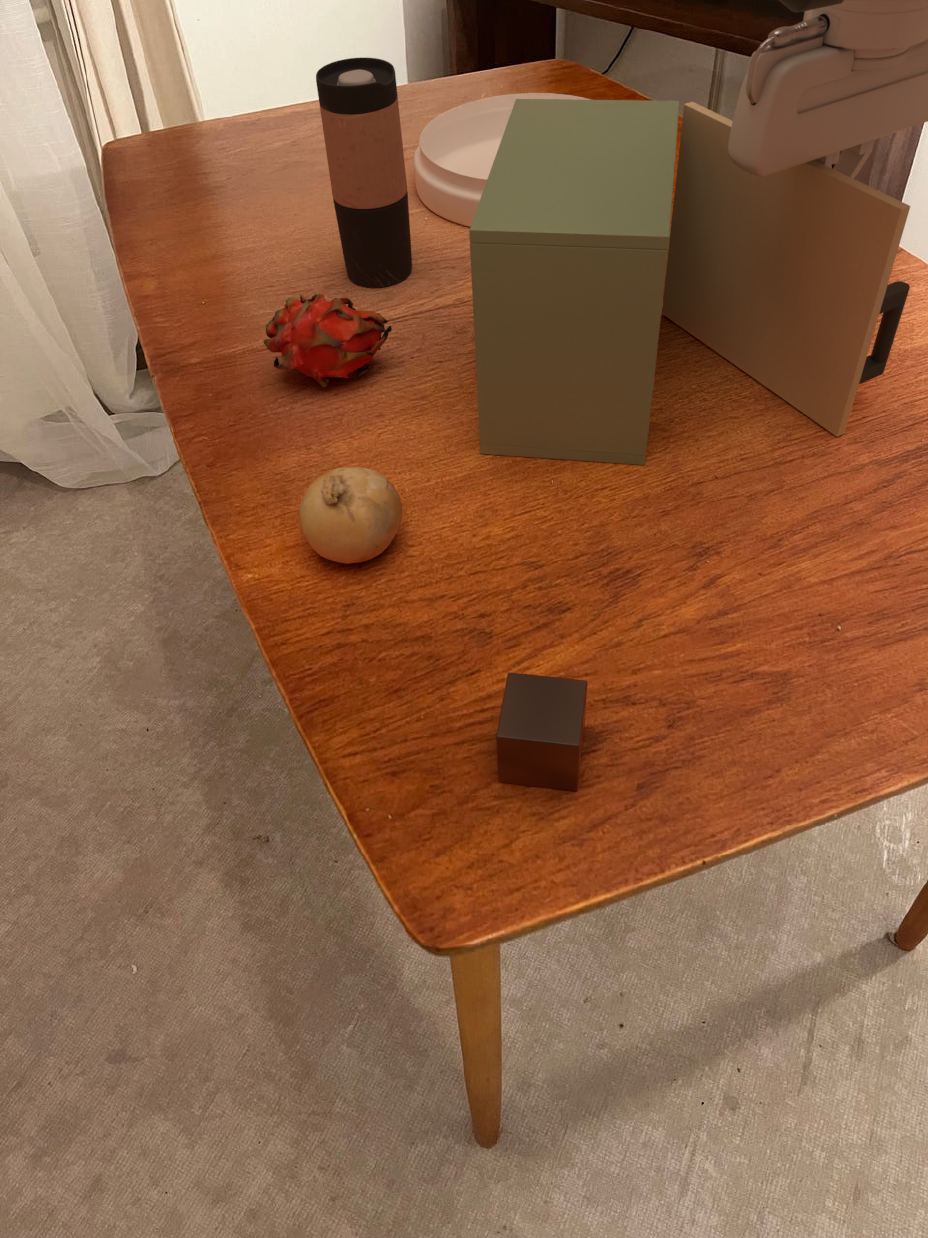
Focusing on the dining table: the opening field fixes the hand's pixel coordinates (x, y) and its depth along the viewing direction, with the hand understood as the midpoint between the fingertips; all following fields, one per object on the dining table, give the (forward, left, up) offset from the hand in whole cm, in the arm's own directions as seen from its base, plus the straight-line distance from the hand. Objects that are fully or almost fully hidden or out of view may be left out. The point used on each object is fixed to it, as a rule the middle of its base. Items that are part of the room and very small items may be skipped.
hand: (828, 199), depth 78 cm
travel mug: (+42, -15, -16) cm, 48 cm away
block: (+17, +45, -16) cm, 51 cm away
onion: (+34, +27, -16) cm, 46 cm away
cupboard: (+19, +3, -16) cm, 25 cm away
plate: (+29, -38, -16) cm, 51 cm away
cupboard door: (+2, -2, -16) cm, 16 cm away
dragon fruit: (+42, +4, -16) cm, 45 cm away
